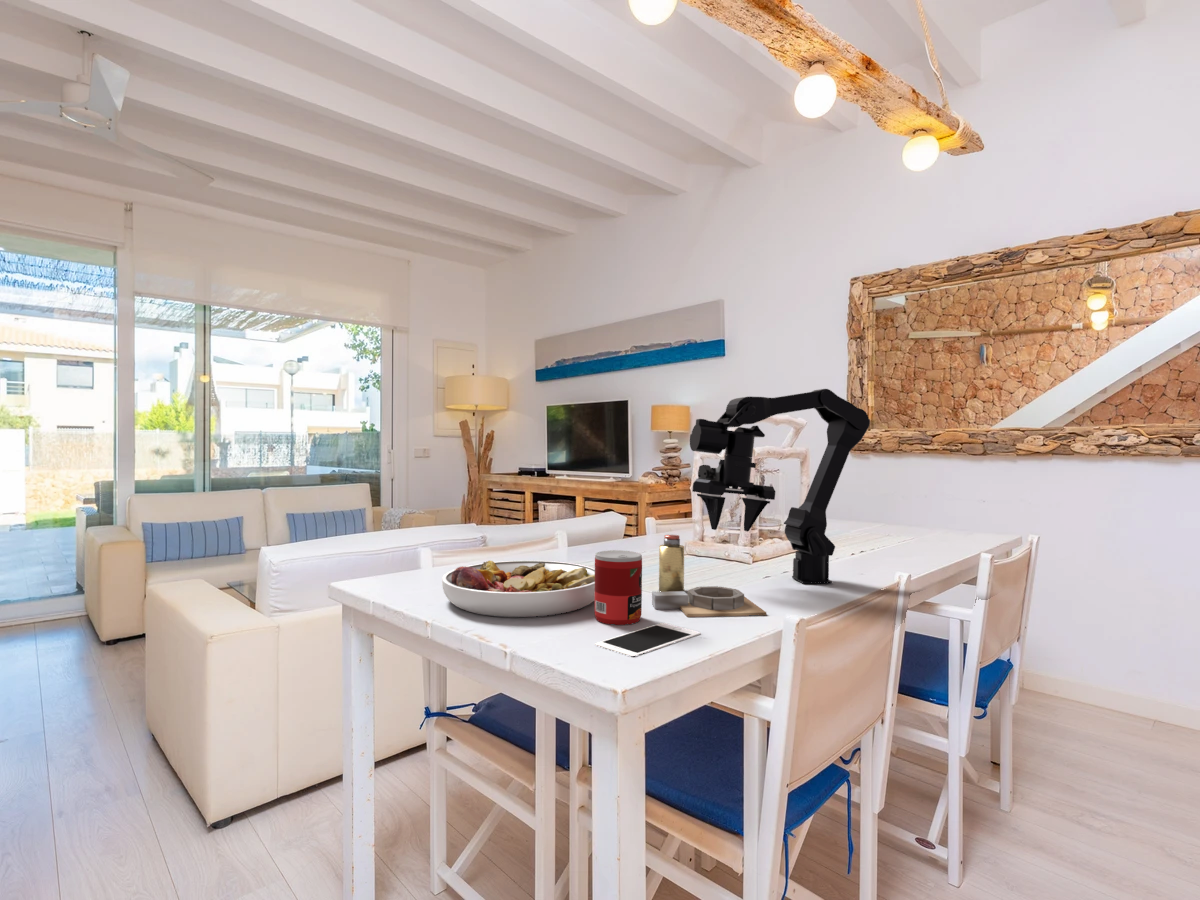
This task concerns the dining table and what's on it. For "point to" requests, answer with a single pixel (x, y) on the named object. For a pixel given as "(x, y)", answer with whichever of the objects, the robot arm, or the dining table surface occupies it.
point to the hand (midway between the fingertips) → (730, 530)
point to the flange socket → (707, 602)
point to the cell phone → (647, 639)
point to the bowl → (520, 588)
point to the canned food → (618, 587)
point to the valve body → (671, 564)
